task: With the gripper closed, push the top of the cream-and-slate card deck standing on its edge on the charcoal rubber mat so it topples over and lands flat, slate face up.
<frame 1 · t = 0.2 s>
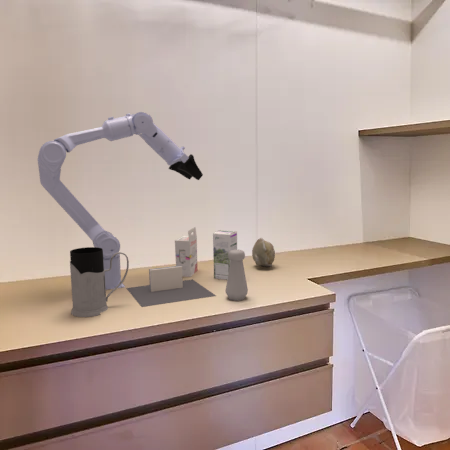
hand: (196, 177, 135), 31 cm above the counter, tool tilted 45°, fingers open, 7 cm apart
mat: (169, 293, 122), on the counter
deck: (166, 288, 125), resting on mat
salt shaker: (236, 300, 116), on the counter
ink cartridge box: (186, 274, 142), on the counter
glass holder: (101, 309, 110), on the counter
syrup box: (225, 279, 136), on the counter
rock: (263, 267, 150), on the counter
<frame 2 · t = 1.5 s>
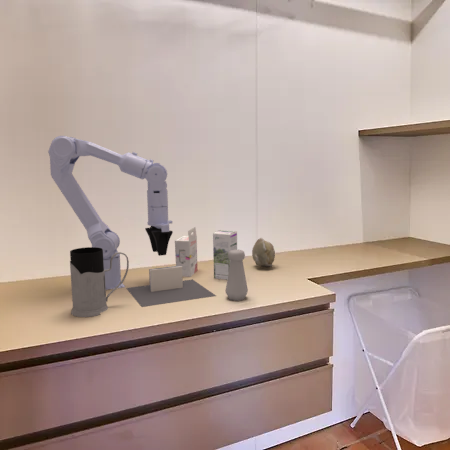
hand: (159, 253, 129), 9 cm above the counter, tool pointing down, fingers open, 5 cm apart
nothing on the counter moved.
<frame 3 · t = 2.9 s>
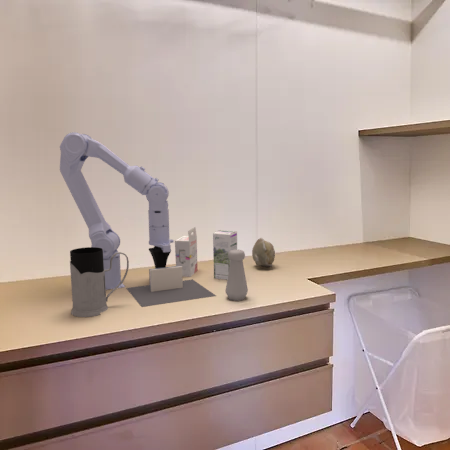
hand: (160, 272, 129), 4 cm above the counter, tool pointing down, fingers closed
nothing on the counter moved.
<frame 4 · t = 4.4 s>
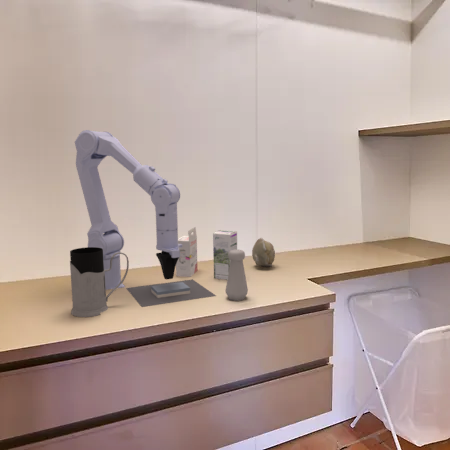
hand: (168, 278, 122), 4 cm above the counter, tool pointing down, fingers closed
deck: (167, 286, 124), point 1 cm above the counter, tilted 90°, touching mat
everything else where it was.
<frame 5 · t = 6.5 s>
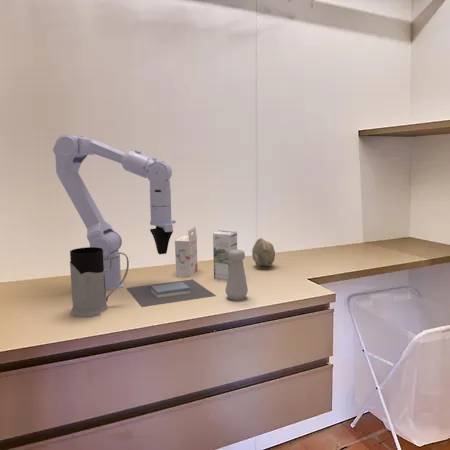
hand: (162, 253, 126), 10 cm above the counter, tool pointing down, fingers closed
nothing on the counter moved.
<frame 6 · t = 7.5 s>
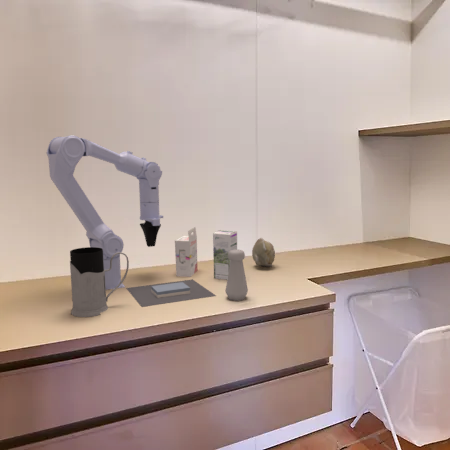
hand: (151, 246, 137), 10 cm above the counter, tool pointing down, fingers closed
nothing on the counter moved.
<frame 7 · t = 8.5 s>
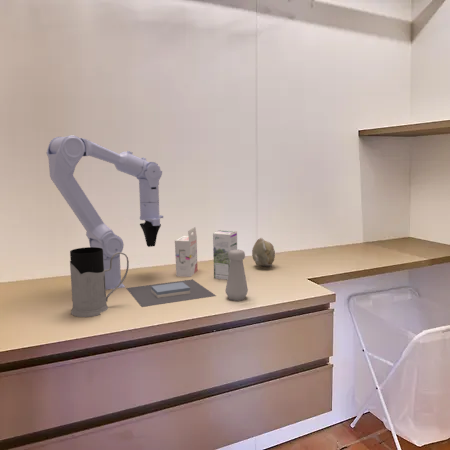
hand: (151, 246, 137), 10 cm above the counter, tool pointing down, fingers closed
nothing on the counter moved.
at the end: deck tilted 90°; deck inside the target area (2.1 cm from its centre), point 1.2 cm above the counter; deck touching mat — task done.
